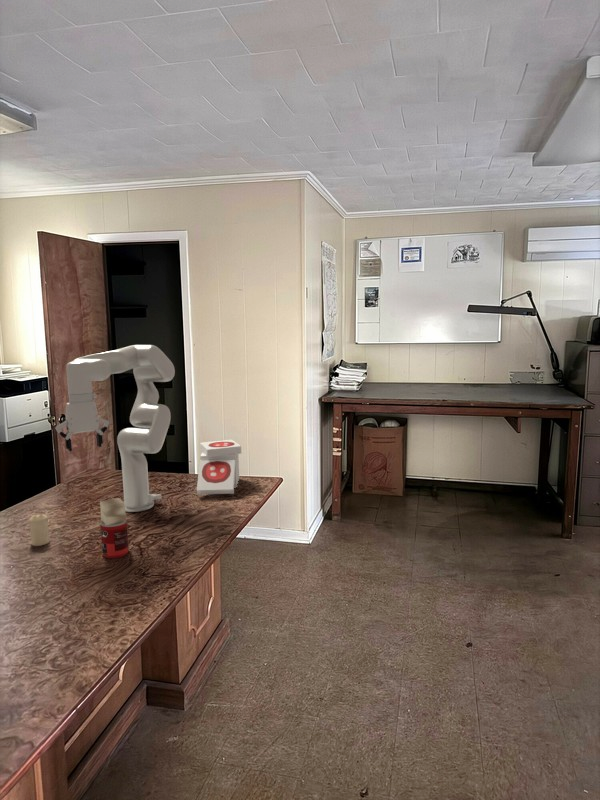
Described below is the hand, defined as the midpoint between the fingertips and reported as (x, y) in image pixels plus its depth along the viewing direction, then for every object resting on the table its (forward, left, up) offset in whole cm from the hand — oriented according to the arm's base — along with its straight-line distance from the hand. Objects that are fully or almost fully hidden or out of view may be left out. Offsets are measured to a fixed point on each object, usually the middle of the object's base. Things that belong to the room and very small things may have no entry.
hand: (84, 448), depth 195 cm
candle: (+16, -2, -31) cm, 34 cm away
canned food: (-2, +22, -31) cm, 38 cm away
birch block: (-2, +22, -19) cm, 29 cm away
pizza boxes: (-59, -21, -31) cm, 70 cm away
